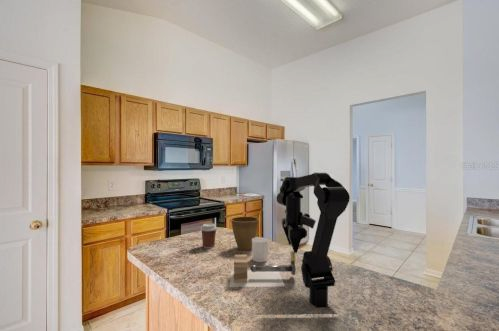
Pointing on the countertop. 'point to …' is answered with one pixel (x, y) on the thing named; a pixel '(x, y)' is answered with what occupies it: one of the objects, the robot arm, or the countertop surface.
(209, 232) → the coffee cup
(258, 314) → the countertop surface
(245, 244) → the plant pot
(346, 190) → the robot arm
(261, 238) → the white cup
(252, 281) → the mounting board
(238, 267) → the block
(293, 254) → the hook rod
